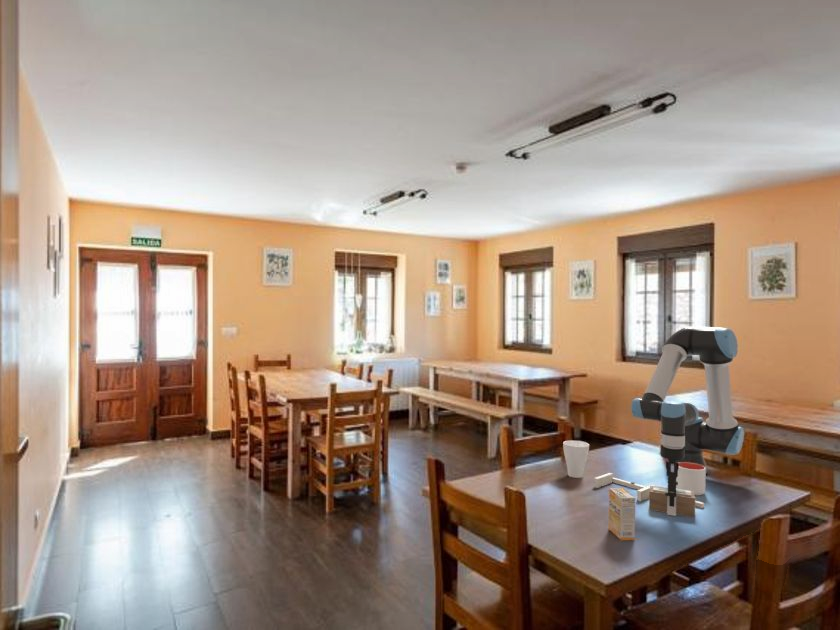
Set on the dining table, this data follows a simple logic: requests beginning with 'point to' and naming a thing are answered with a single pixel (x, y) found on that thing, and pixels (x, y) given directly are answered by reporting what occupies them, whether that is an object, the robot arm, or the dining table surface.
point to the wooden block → (683, 500)
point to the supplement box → (622, 513)
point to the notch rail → (641, 492)
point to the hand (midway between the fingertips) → (671, 509)
